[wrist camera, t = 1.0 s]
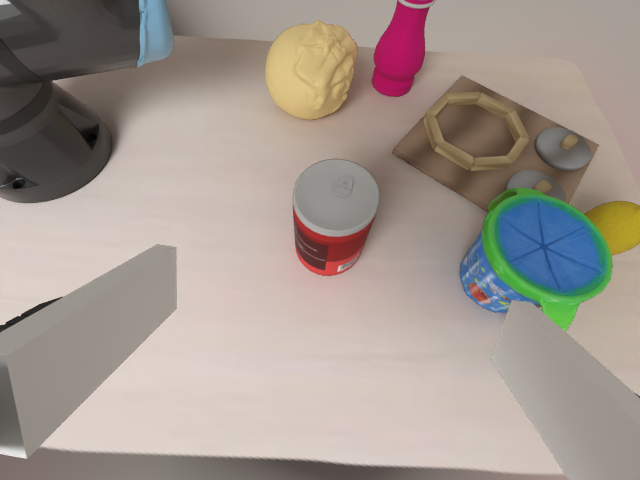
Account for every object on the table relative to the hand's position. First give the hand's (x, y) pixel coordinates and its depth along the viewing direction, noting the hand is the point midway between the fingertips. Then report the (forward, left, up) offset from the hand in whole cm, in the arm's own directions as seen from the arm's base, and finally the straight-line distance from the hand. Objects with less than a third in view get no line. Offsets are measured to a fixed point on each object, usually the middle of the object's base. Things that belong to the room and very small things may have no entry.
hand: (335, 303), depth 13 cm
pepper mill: (-17, +40, -22) cm, 48 cm away
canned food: (-7, +11, -22) cm, 25 cm away
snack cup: (+10, +19, -22) cm, 31 cm away
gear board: (+2, +38, -22) cm, 44 cm away
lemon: (+17, +31, -22) cm, 42 cm away
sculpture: (-24, +28, -22) cm, 43 cm away
